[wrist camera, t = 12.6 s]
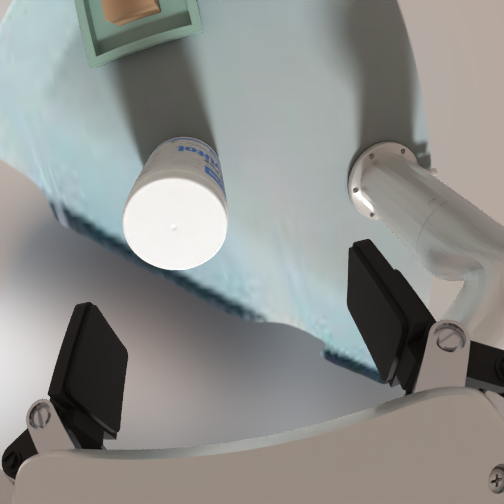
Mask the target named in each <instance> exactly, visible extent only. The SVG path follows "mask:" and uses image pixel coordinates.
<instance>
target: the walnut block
mask: <svg viewBox="0 0 504 504" xmlns="http://www.w3.org/2000/svg"><path fill="white" fill-rule="evenodd" d="M101 3H102V8H103V12H104V17H105V20H107V21H109V22H111V23H114V24H116V25H118V26H122V25H125V24H127V23H130V22H133V21H136V20H139V19H142V18H145V17H148V16H151V15H154V14H157V13H161V8H160V3H159V0H101Z"/></svg>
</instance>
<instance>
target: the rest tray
mask: <svg viewBox="0 0 504 504" xmlns="http://www.w3.org/2000/svg"><path fill="white" fill-rule="evenodd" d="M159 3H160V8H161V13H157V14H154V15H151V16H148V17H145V18H142V19H139V20H136V21H133V22H130V23H127V24H125V25H122V26H118V25H116V24H114V23H111V22H109V21H107V20H105V17H104V12H103V8H102V3H101V0H75V5H76V10H77V15H78V20H79V24H80V29H81V33H82V37H83V41H84V45H85V49H86V53H87V57H88V61H89V65H90V68H95V67H99V66H102V65H104V64H107V63H109V62H111V61H114V60H116V59H119V58H122V57H124V56H127V55H130V54H132V53H135V52H138V51H141V50H144V49H147V48H150V47H153V46H156V45H159V44H163V43H166V42H169V41H173V40H177V39H180V38H184V37H188V36H192V35H196V34H200V33H203V27H202V23H201V19H200V15H199V10H198V6H197V2H196V0H159Z"/></svg>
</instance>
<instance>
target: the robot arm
mask: <svg viewBox="0 0 504 504" xmlns="http://www.w3.org/2000/svg"><path fill="white" fill-rule="evenodd" d="M436 176H437V170H436V169H435V168H432V169H428V170H426V169H424V168H423V167H421V166H420V165H418V162H417V160H416V158H415V156H414V154H413V153H412V152H411V151H410V150H409V149H408V148H407V147H405V146H403V145H401V144H399V143H396V142H388V141H387V142H381V143H378V144H375V145H373V146H371V147H370V148H368V149H367V150H366V151H365V152H363V153H362V154H361V156H360V157H359V158H358V159H357V161H356V162H355V164H354V166H353V168H352V171H351V173H350V177H349V182H348V191H349V196H350V199H351V202H352V204H353V205H354V207H355V208H356V209H357V210H358V211H359V213H360V214H362V215H363V216H365V217H367V218H369V219H373V220H381V221H382V222H383V223H384V224H385V225H386V226H387V227H388V228H389V229H390V230H391V231H392V232H393V233H394V234H395V235H396V236H397V238H398V239H399V240H400V241H401V242H402V243H403V244H404V245H405V246H406V247H407V248H408V250H409V251H410V252H411V253H412V254H413V255H414V256H415V257H416V259H417V260H418V261H419V262H420V263H421V264H422V265H423V266H424V268H425V269H426V270H427V271H428V272H429V273H431V274H432V275H434V276H435V277H437V278H439V279H443V280H448V281H462V280H463V281H464V280H465V281H464V285H463V287H462V289H461V291H460V292H459V294H458V295H457V297H456V299H455V300H454V302H453V303H452V305H451V306H450V307H449V309H448V310H447V311H446V313H445V314H444V315H443V317H442V318H441V319H440V321H438V322H436V321H435V319H434V318H433V316H432V315H431V313H430V312H429V310H428V309H427V308H426V306H425V305H424V303H423V302H422V301H421V299H420V298H419V296H418V295H417V294H416V292H415V291H414V290H413V288H412V287H411V286H410V284H409V283H408V282H407V280H406V279H405V278H404V276H403V275H402V274H401V272H400V271H399V270H396V269H395V270H394V269H393V268H392V267H391V265H390V264H389V263H388V261H387V260H386V259H385V258H384V256H383V255H382V254H381V252H380V251H379V250H378V249H377V247H376V246H375V245H374V244H373V242H372V241H371V240H370V239H366V240H361V241H357V242H354V243H353V247H350V248H349V259H348V289H347V306H348V309H349V312H350V314H351V315H352V317H353V319H354V321H355V323H356V325H357V327H358V329H359V331H360V333H361V335H362V338H363V340H364V342H365V344H366V346H367V348H368V350H369V352H370V354H371V356H372V358H373V360H374V362H375V364H376V367H377V369H378V371H379V373H380V375H381V377H382V379H383V380H384V381H388V382H389V384H390V386H391V387H394V386H396V385H399V384H400V385H401V387H402V389H403V390H405V393H404V396H403V397H400V398H397V399H395V400H391V401H388V402H386V403H383V404H380V405H377V406H374V407H371V408H368V409H365V410H362V411H359V412H356V413H353V414H350V415H346V416H343V417H340V418H336V419H333V420H329V421H326V422H322V423H318V424H315V425H311V426H307V427H304V428H299V429H295V430H291V431H287V432H282V433H277V434H272V435H267V436H263V437H257V438H251V439H246V440H239V441H233V442H226V443H219V444H211V445H202V446H192V447H181V448H167V449H148V450H147V449H146V450H107V449H106V448H105V446H104V445H103V439H116V436H117V432H119V430H120V421H121V412H122V401H123V392H124V384H125V375H126V368H127V361H128V352H127V350H126V348H125V347H124V345H123V344H122V342H121V341H120V340H119V338H118V337H117V335H116V334H115V332H114V331H113V330H112V328H111V327H110V325H109V324H108V322H107V321H106V319H105V318H104V316H103V315H102V313H101V312H100V310H99V309H98V307H97V306H96V305H93V304H92V303H91V302H87V303H82V304H77V305H76V306H75V308H74V311H73V314H72V316H71V319H70V322H69V325H68V328H67V331H66V334H65V337H64V340H63V343H62V346H61V349H60V353H59V355H58V359H57V362H56V365H55V369H54V373H53V376H52V380H51V383H50V387H49V391H48V395H49V396H50V401H48V400H47V399H40V400H37V401H36V402H34V403H33V404H32V406H31V407H30V409H29V410H28V413H27V416H26V422H27V427H28V428H27V429H26V430H25V431H24V432H23V433H22V434H21V435H20V436H19V437H18V438H17V439H16V440H15V441H14V442H13V443H12V444H11V445H10V446H9V447H7V449H6V450H5V452H4V454H3V456H2V467H3V471H2V470H1V469H0V504H504V226H503V225H501V224H499V223H498V222H496V221H495V220H494V219H492V218H491V217H490V216H488V215H487V214H486V213H484V212H483V211H482V210H480V209H479V208H477V207H476V206H475V205H474V204H472V203H471V202H470V201H468V200H467V199H465V198H464V197H462V196H461V195H460V194H458V193H457V192H455V191H454V190H453V189H451V188H450V187H448V186H447V185H446V184H444V183H443V182H441V181H440V180H438V179H437V178H435V177H436Z"/></svg>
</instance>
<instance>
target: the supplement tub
mask: <svg viewBox="0 0 504 504" xmlns="http://www.w3.org/2000/svg"><path fill="white" fill-rule="evenodd" d="M227 224H228V207H227V200H226V194H225V188H224V182H223V176H222V170H221V165H220V161H219V159H218V157H217V155H216V153H215V152H214V150H213V149H212V148H211V147H210V146H209V145H207V144H206V143H204V142H203V141H201V140H198V139H195V138H191V137H176V138H172V139H169V140H167V141H165V142H163V143H162V144H160V145H159V146H158V147H157V148H156V149H155V150H154V151H153V152H152V154H151V155H150V157H149V159H148V160H147V162H146V164H145V165H144V167H143V169H142V171H141V173H140V175H139V176H138V178H137V180H136V182H135V184H134V186H133V188H132V190H131V192H130V194H129V196H128V198H127V201H126V203H125V208H124V212H123V218H122V226H123V232H124V235H125V238H126V240H127V242H128V244H129V246H130V247H131V249H132V250H133V251H134V252H135V253H136V254H137V255H138V256H139V257H140V258H141V259H143V260H144V261H146V262H148V263H149V264H152V265H154V266H156V267H160V268H163V269H170V270H183V269H189V268H193V267H196V266H198V265H200V264H202V263H204V262H206V261H207V260H209V259H210V258H211V257H213V256H214V255H215V254H216V253H217V251H218V250H219V249H220V247H221V246H222V244H223V242H224V240H225V237H226V233H227Z"/></svg>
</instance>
